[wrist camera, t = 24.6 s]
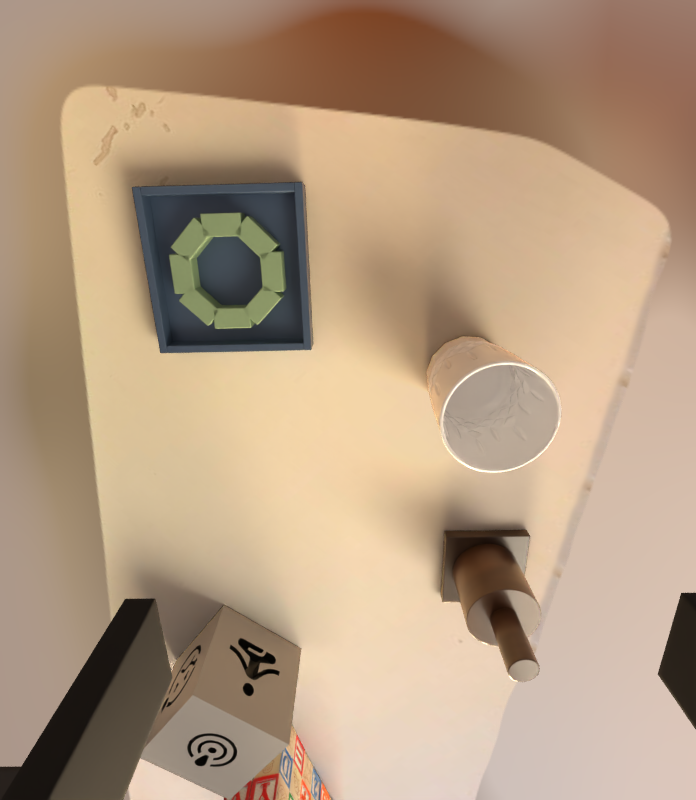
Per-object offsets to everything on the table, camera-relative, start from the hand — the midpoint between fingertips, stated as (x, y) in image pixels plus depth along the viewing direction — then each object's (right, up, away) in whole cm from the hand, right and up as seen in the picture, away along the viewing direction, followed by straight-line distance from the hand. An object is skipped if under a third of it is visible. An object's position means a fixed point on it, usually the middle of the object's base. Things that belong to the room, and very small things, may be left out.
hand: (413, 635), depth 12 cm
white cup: (+8, +8, +28) cm, 30 cm away
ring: (-11, +16, +24) cm, 31 cm away
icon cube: (-14, -22, +39) cm, 47 cm away
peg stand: (+12, -10, +34) cm, 38 cm away
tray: (-11, +16, +25) cm, 32 cm away
